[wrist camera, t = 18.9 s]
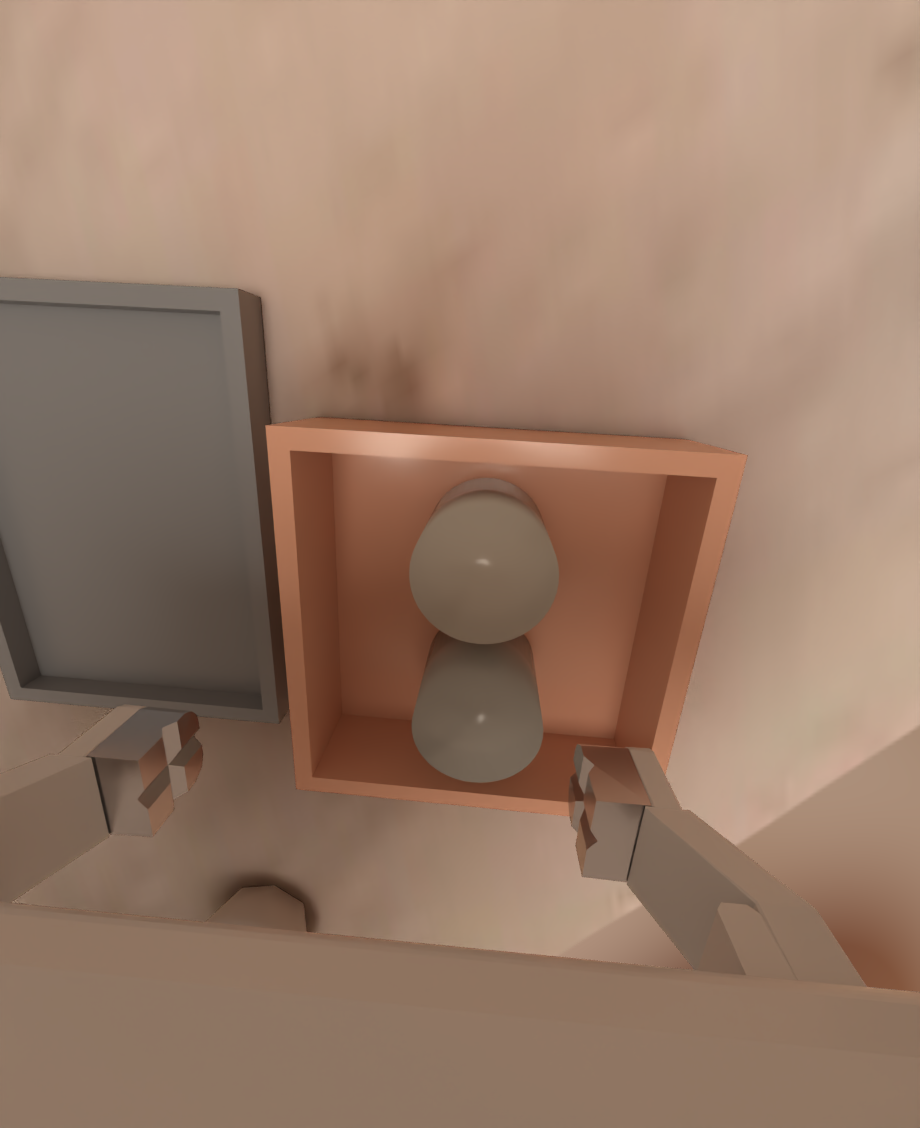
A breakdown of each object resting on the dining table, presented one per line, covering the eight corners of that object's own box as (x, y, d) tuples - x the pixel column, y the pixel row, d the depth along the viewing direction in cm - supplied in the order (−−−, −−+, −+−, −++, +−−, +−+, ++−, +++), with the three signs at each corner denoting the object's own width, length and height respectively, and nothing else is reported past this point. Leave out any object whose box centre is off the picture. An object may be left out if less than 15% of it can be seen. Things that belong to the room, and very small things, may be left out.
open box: (622, 741, 20) (652, 824, 16) (332, 715, 20) (296, 789, 17) (687, 439, 16) (747, 455, 12) (319, 416, 16) (265, 425, 12)
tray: (293, 702, 20) (279, 723, 19) (41, 679, 21) (10, 699, 19) (260, 297, 15) (237, 288, 14) (-76, 281, 16) (-129, 271, 14)
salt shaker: (252, 957, 26) (43, 1443, 14) (193, 887, 25) (-99, 1369, 13) (343, 936, 25) (201, 1445, 13) (288, 861, 24) (67, 1365, 11)
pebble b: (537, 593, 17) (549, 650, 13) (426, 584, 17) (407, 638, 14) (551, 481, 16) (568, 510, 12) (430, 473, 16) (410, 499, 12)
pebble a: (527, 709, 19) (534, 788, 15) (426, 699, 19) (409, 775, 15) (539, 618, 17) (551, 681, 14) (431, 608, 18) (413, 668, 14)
